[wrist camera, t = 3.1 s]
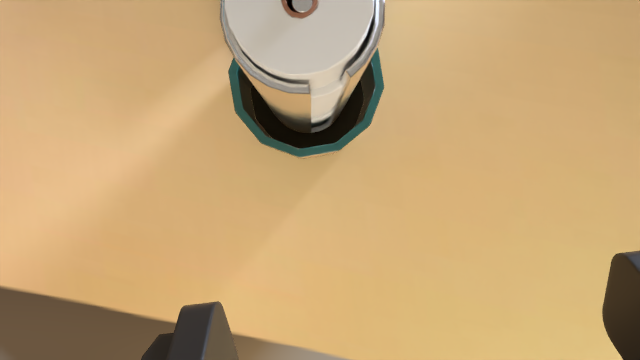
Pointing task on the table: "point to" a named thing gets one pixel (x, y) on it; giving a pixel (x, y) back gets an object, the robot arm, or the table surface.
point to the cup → (245, 111)
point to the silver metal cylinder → (303, 53)
